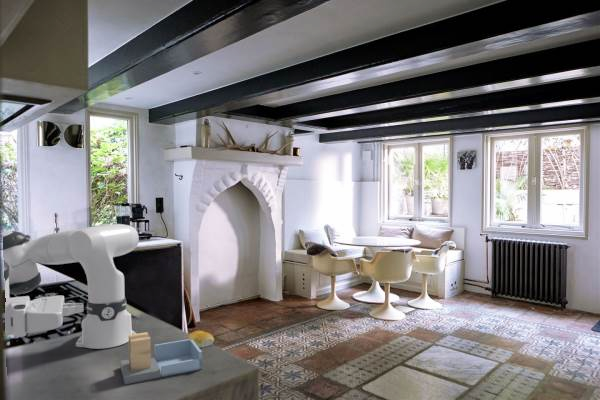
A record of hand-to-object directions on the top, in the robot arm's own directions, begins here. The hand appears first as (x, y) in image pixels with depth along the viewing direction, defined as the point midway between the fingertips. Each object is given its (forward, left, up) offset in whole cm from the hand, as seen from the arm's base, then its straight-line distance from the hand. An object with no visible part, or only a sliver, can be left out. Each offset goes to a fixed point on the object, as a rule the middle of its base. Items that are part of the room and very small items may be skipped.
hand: (83, 307), depth 112 cm
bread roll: (-15, +34, -20) cm, 43 cm away
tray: (0, +24, -20) cm, 31 cm away
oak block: (0, +14, -18) cm, 23 cm away
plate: (0, +14, -20) cm, 24 cm away
